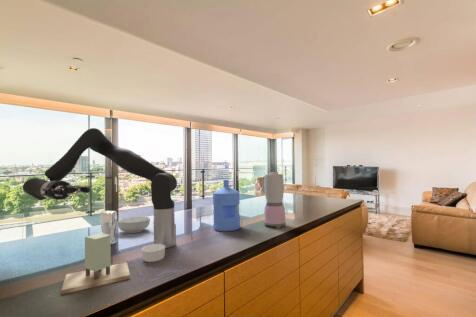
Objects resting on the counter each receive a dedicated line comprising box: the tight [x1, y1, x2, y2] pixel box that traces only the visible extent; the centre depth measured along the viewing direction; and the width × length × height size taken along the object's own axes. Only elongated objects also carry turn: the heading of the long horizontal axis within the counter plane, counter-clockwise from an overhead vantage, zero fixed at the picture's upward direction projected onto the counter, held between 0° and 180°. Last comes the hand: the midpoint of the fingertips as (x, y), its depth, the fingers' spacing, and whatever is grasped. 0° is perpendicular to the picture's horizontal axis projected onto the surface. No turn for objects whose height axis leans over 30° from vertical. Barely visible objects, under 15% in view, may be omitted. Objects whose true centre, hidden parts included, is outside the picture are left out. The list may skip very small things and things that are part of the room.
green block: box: [84, 232, 112, 272], centre depth 77 cm, size 6×5×10 cm
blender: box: [261, 171, 287, 229], centre depth 141 cm, size 16×12×32 cm
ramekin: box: [141, 243, 166, 263], centre depth 93 cm, size 9×9×4 cm
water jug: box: [212, 179, 241, 232], centre depth 137 cm, size 16×16×28 cm
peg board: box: [60, 261, 131, 295], centre depth 77 cm, size 18×12×4 cm, turn 120°
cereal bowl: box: [117, 216, 151, 234], centre depth 134 cm, size 17×17×7 cm
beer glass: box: [100, 210, 118, 245], centre depth 114 cm, size 7×7×15 cm
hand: (76, 190), depth 88 cm, fingers open, 8 cm apart
